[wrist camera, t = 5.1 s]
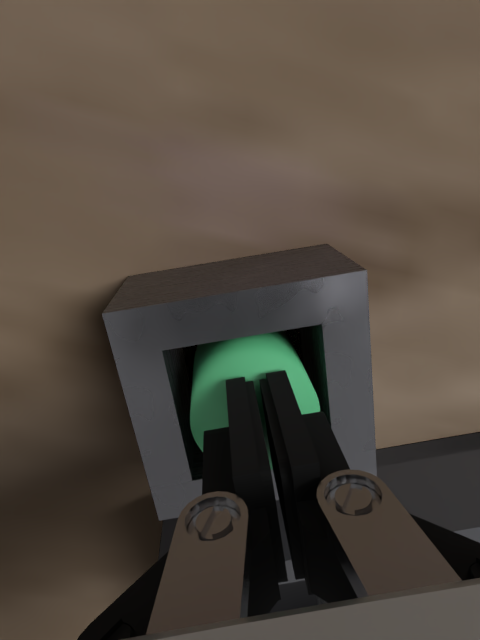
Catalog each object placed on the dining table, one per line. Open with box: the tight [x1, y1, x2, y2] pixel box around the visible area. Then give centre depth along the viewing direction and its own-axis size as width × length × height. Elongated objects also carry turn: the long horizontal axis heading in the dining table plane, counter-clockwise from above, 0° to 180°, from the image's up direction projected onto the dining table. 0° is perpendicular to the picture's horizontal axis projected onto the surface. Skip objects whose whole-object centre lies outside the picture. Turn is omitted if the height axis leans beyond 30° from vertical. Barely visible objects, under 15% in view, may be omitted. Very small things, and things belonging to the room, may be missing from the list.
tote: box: [158, 432, 480, 613], centre depth 18 cm, size 11×15×4 cm
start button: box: [190, 331, 320, 470], centre depth 14 cm, size 4×4×4 cm
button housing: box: [102, 244, 377, 521], centre depth 14 cm, size 7×7×4 cm
